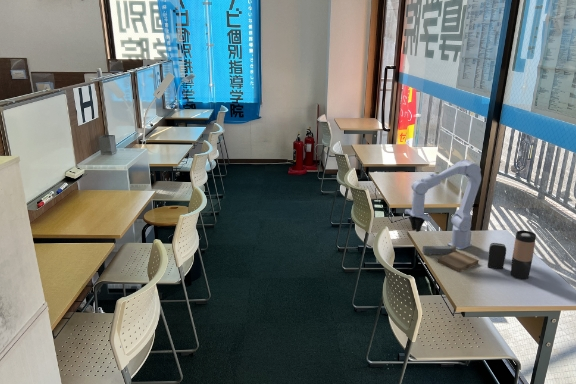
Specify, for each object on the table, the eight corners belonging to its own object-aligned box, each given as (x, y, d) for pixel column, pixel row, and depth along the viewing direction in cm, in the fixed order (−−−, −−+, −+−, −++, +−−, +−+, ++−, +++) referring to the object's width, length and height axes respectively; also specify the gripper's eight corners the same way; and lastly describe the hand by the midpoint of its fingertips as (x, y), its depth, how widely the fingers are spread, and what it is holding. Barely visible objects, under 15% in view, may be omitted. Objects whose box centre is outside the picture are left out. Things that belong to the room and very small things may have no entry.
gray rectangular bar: (448, 251, 218) (449, 246, 217) (450, 254, 215) (451, 248, 214) (422, 251, 218) (422, 246, 217) (423, 254, 215) (424, 248, 214)
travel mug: (527, 272, 197) (534, 231, 190) (530, 281, 190) (537, 238, 184) (508, 270, 199) (515, 229, 193) (510, 278, 192) (517, 236, 186)
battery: (503, 266, 203) (506, 243, 200) (503, 269, 200) (507, 246, 196) (486, 263, 205) (489, 241, 202) (486, 267, 202) (490, 244, 199)
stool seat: (452, 252, 218) (453, 244, 217) (479, 263, 206) (480, 255, 205) (431, 259, 210) (432, 252, 209) (459, 272, 198) (459, 264, 197)
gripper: (401, 202, 220) (399, 227, 224) (424, 210, 208) (422, 237, 212) (411, 199, 224) (409, 224, 228) (434, 207, 212) (431, 233, 216)
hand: (416, 230), depth 220 cm, fingers closed
